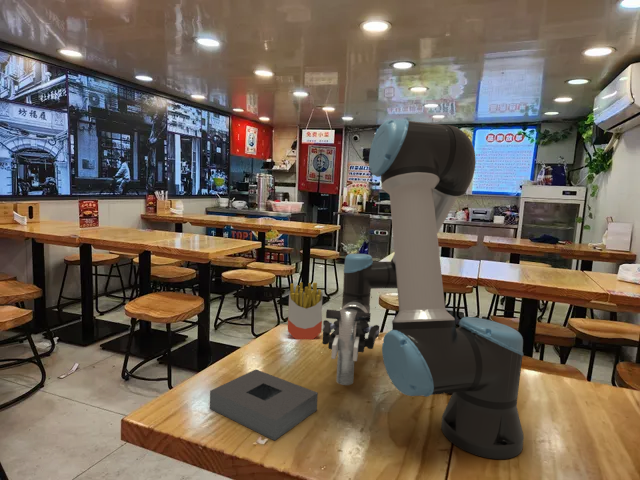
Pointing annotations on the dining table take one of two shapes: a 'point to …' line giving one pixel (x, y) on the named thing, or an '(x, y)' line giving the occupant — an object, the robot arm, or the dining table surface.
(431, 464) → the dining table surface
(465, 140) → the robot arm
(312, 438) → the dining table surface
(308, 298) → the french fries container
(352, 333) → the chuck key
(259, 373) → the block
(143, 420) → the dining table surface
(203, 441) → the dining table surface
